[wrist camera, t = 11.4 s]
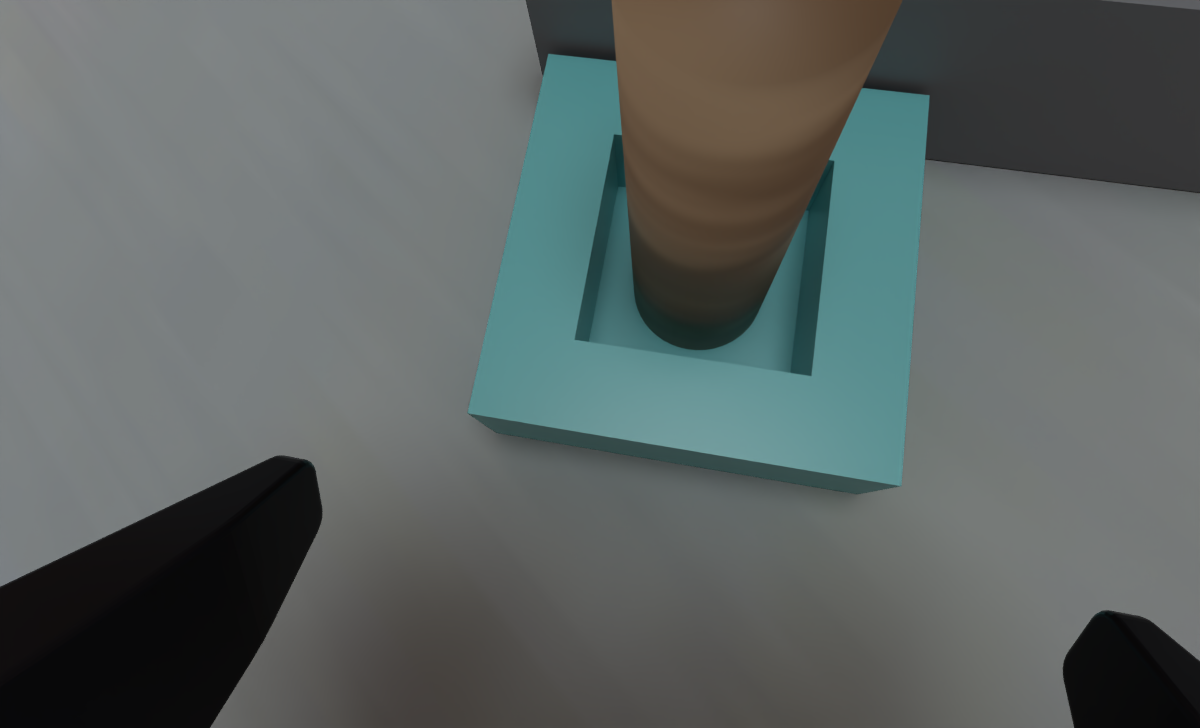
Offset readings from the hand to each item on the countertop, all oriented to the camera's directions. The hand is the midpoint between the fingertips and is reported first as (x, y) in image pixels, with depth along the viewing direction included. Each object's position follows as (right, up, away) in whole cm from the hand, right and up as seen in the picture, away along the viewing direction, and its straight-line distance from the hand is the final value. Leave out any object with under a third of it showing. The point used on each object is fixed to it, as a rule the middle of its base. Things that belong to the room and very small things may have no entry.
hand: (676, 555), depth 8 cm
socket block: (+2, +4, +14) cm, 15 cm away
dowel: (+2, +5, +13) cm, 14 cm away
